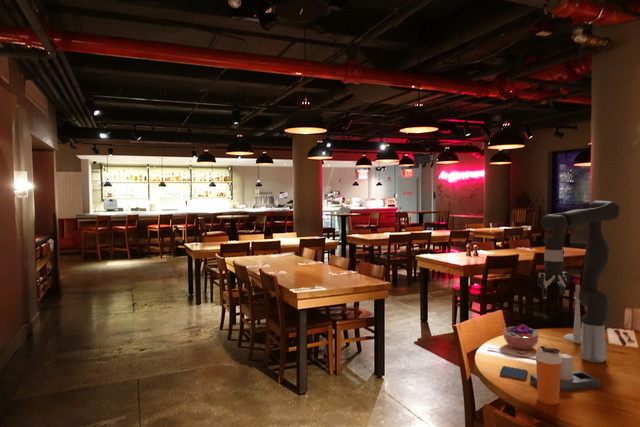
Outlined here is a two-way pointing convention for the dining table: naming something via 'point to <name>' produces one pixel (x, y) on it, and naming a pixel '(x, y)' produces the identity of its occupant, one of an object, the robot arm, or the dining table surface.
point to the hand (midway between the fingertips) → (553, 295)
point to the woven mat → (514, 373)
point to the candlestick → (576, 321)
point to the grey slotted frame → (574, 381)
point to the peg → (566, 367)
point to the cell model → (521, 336)
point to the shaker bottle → (548, 375)
